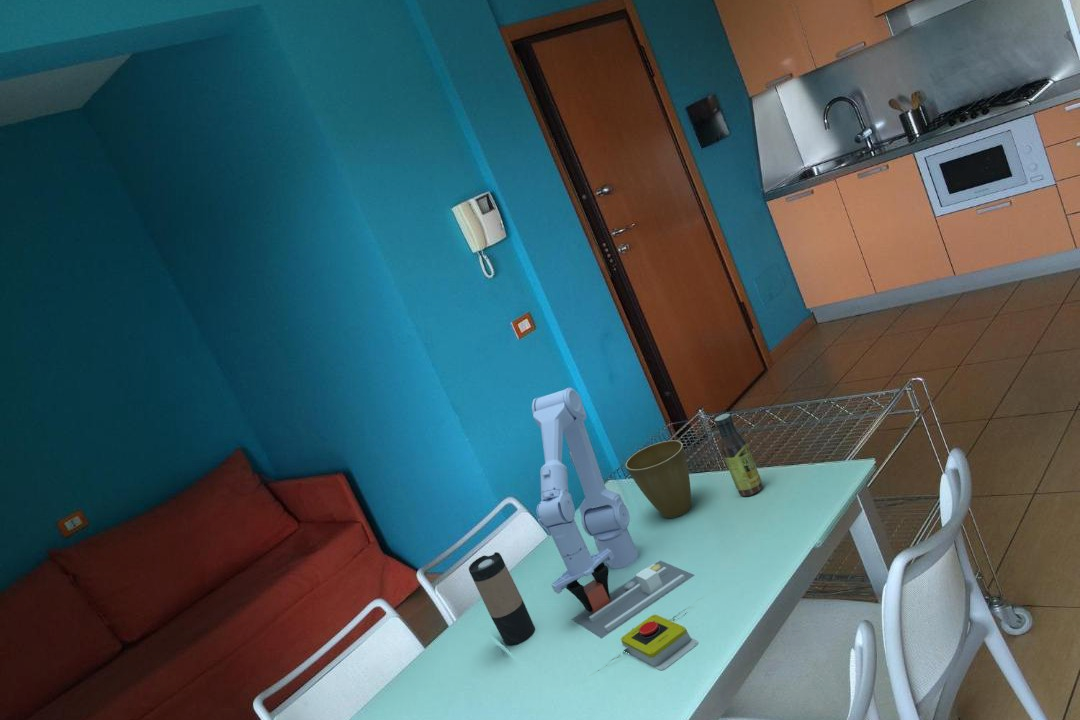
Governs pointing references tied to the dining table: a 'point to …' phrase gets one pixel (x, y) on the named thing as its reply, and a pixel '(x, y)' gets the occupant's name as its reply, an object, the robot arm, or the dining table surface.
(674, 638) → the emergency button
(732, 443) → the sauce bottle
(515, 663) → the dining table surface
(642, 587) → the lever
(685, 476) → the plant pot
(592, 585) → the block
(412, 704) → the dining table surface
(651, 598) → the panel
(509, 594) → the travel mug
